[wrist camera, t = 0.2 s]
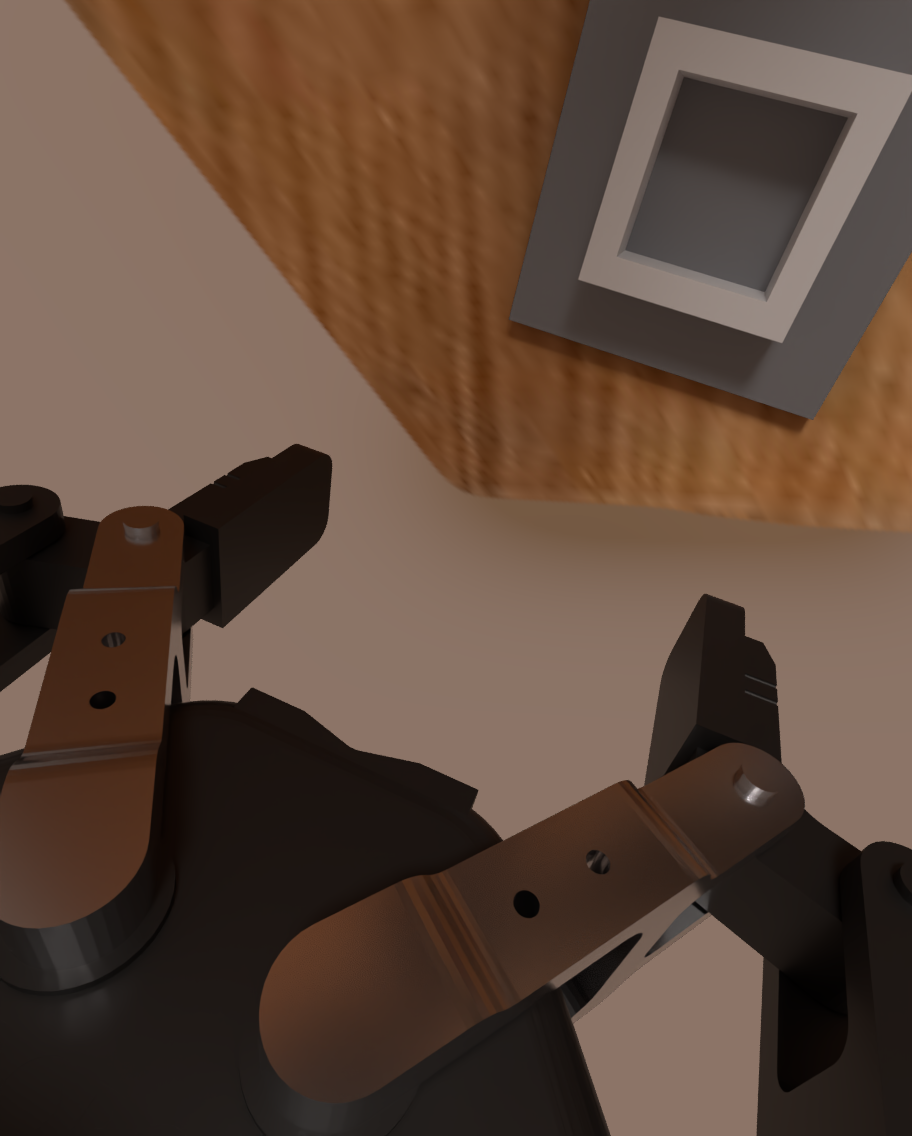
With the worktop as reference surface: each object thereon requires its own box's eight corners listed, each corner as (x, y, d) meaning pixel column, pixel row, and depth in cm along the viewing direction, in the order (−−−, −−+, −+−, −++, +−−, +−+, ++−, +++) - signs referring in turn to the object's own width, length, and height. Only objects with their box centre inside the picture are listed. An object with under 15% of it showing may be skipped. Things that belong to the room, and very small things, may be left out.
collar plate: (619, -96, 28) (604, -129, 25) (1055, -7, 25) (1101, -32, 22) (513, 316, 39) (493, 329, 36) (811, 414, 36) (818, 438, 33)
